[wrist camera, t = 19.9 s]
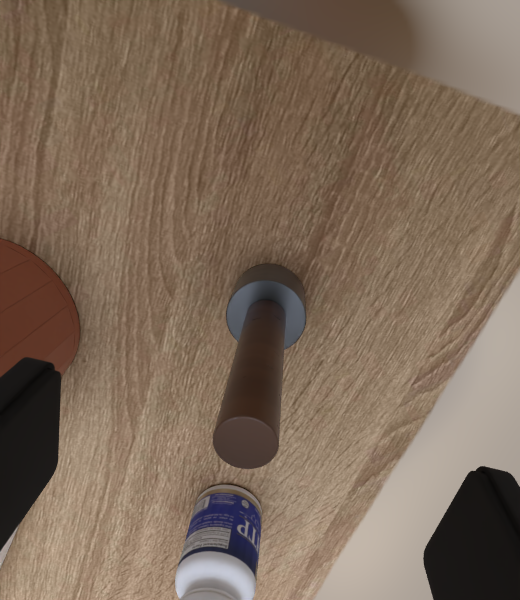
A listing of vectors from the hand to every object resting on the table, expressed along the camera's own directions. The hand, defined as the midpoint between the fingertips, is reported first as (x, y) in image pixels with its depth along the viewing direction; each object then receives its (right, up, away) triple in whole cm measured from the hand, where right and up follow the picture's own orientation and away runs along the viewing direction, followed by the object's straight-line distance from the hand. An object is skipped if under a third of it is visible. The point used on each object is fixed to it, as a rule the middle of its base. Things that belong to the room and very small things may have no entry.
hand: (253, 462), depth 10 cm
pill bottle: (-2, -12, +23) cm, 27 cm away
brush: (+1, +4, +16) cm, 17 cm away
